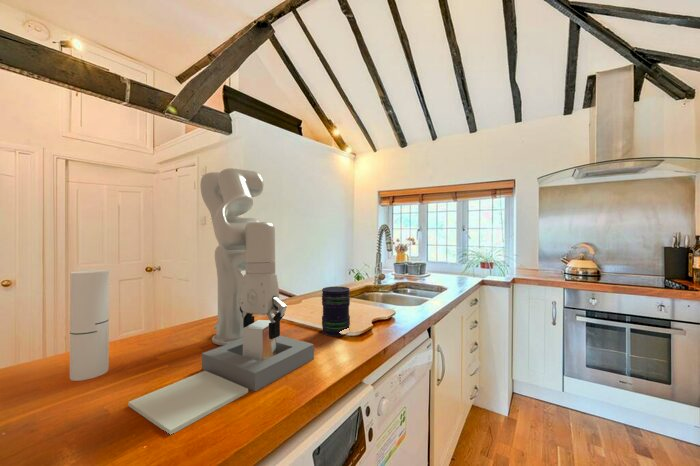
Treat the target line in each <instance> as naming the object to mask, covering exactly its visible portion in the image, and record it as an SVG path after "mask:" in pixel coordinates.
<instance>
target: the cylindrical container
mask: <svg viewBox="0 0 700 466" xmlns="http://www.w3.org/2000/svg"><path fill="white" fill-rule="evenodd" d="M69 279H70V281H69V283H70V285H69V380H70V381H73V382H74V381H75V382H77V381H78V382H79V381H86V380H90V379H94V378H98V377H99V376H102V375H104V374H106V373H107V372H108V371H109V359H110V358H109V351H110V350H109V349H110V347H109V346H110V345H109V343H110V342H109V341H110V335H109V332H110V326H109V325H110V324H109V323H110V270H109V269H89V270H88V269H87V270H78V271H77V270H76V271H75V270H74V271H71V272H70V277H69Z"/></svg>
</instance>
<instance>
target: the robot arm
mask: <svg viewBox="0 0 700 466" xmlns="http://www.w3.org/2000/svg"><path fill="white" fill-rule="evenodd" d="M199 188H200V193H201V198H202V200H203V202H204V204H205V206H206V207H207V210H208V211H209V213H210V217H211V222H212V226H213V233H214V236H215V239H216V241H217V243H218V246H217V247H216V248H215V250H214V262H215V268H216V274H217V275H216V276H217V324H215V325H213V326H212V327H213V329H214V330H216V334H214V335H213V336H212V338H211V341H212V343H213V344H214V345H218V346H224V345H227V344H230V343H232V342H235V341H238V340H241V339H243V328H245V327H247V326H249V325H250V324H252V323H254V322H255V315H257V316H267V318H268V320H270V321H271V323H269V339H274V338H276V337H279V336H281V324H280V323H281V321H282V319H283V317H284V316H285V313H286V310H287V305H286V304H285V303H284V302H283V301H282V300H281V299H280V289H279V288H280V287H279V282H278V275H277V274H276V235H275V234H276V228H275V225H274V224H273V223H272V222H267V221H260V220H258V219H256V218H253V217H242V215H244V214H246V213H248V212H249V211H250V210H252V207H253V206H254V199H253V198H254V197H258V196H260V195H261V194H262V193H263V191H264V180H263V176H261V174H260V172H257V171H254V170H248V169H247V170H246V169H241V168H234V167H233V168H225V169H223V170H220V171H219V172H218V171H216V172H215V171H214V172H207V173H205V174H203V175H202V177H201V178H200V186H199ZM240 216H241V217H240ZM244 271H245V274H242V272H244Z"/></svg>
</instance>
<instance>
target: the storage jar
mask: <svg viewBox="0 0 700 466" xmlns="http://www.w3.org/2000/svg"><path fill="white" fill-rule="evenodd" d="M350 294H351V293H350V288H349V287H346V286H328V287H327V286H326V287H323V288H322V294H321V305H322V316H321V328H322V329H323V330H321V333H322V334H323V335H326V336H329V337H341V334H340V333H339V332H340V331H342V330H344V329H347V328H349V329H350V327H351V320H350V319H351V316H350V304H351V302H350V301H351V296H350ZM349 326H350V327H349Z"/></svg>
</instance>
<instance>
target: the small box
mask: <svg viewBox="0 0 700 466" xmlns="http://www.w3.org/2000/svg"><path fill="white" fill-rule="evenodd" d="M269 323H271V321H270V320H269V319H268V320H267V319H266V320H265V319H257V320H256V321H254V323H252V324H250V325H249V326H247V327H245V328H243V356H245V357H247V358H250V359H253V360H256V361H259V362H261V361H264V360H266V359H268V358H270V357H272V356H274V355H276V338H274V339H269Z"/></svg>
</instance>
